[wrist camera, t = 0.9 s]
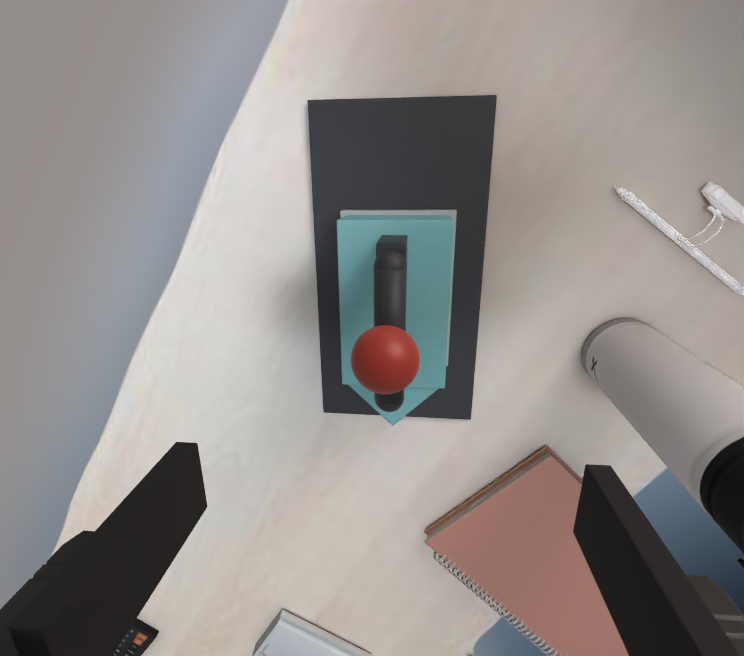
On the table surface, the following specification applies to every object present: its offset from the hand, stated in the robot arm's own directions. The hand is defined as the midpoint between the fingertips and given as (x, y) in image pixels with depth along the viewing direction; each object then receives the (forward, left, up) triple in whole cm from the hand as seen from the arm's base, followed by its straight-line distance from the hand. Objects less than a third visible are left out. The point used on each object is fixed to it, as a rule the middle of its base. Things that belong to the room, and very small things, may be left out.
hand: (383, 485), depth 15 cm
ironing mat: (+1, -2, -24) cm, 24 cm away
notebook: (-17, +29, -24) cm, 42 cm away
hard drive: (+11, +45, -24) cm, 53 cm away
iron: (+1, +1, -23) cm, 23 cm away
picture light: (-22, -7, -24) cm, 34 cm away
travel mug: (-18, +4, -24) cm, 31 cm away
